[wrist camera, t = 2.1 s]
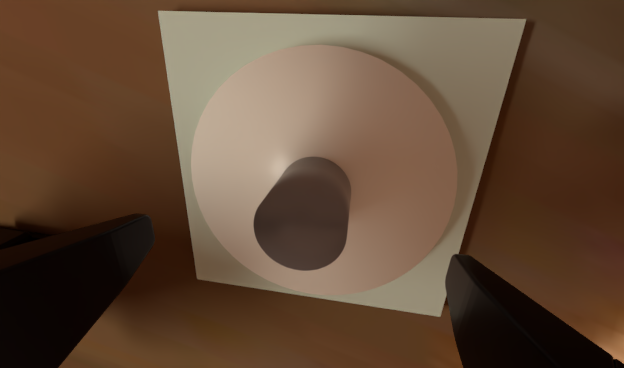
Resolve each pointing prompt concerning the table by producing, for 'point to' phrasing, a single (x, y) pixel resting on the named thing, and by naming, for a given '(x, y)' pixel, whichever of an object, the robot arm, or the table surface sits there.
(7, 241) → the robot arm
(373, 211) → the lid
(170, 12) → the mat
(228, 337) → the table surface
